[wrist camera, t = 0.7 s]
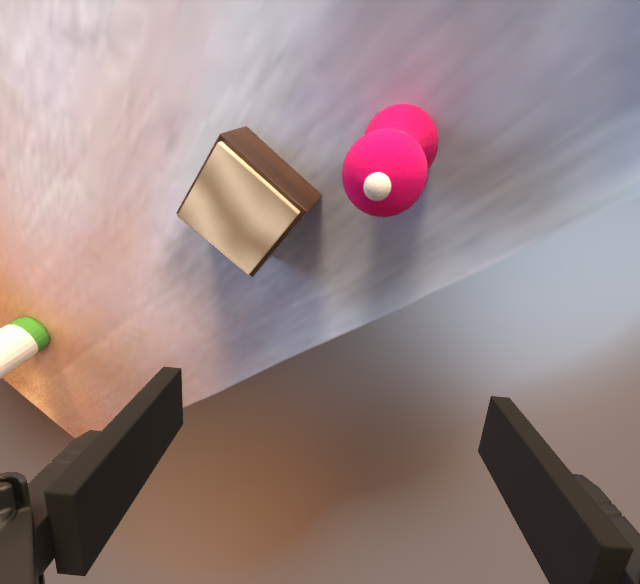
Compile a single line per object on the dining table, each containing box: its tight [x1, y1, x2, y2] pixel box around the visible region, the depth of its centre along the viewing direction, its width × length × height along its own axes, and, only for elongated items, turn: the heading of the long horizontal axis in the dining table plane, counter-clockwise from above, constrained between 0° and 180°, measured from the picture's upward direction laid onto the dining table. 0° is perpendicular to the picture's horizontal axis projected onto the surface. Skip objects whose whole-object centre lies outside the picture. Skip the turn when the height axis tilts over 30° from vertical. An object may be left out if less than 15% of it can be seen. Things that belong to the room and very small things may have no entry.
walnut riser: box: [177, 126, 322, 277], centre depth 44 cm, size 12×12×7 cm
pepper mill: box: [342, 104, 438, 217], centre depth 31 cm, size 7×7×20 cm
